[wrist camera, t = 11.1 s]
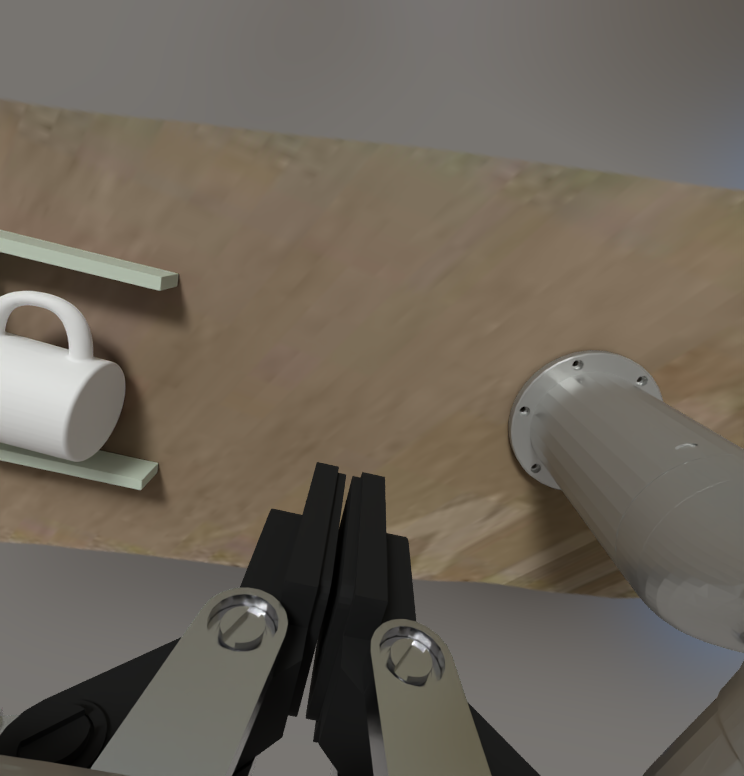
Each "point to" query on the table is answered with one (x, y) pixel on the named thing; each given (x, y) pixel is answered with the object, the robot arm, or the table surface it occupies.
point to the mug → (56, 385)
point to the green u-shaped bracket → (102, 462)
